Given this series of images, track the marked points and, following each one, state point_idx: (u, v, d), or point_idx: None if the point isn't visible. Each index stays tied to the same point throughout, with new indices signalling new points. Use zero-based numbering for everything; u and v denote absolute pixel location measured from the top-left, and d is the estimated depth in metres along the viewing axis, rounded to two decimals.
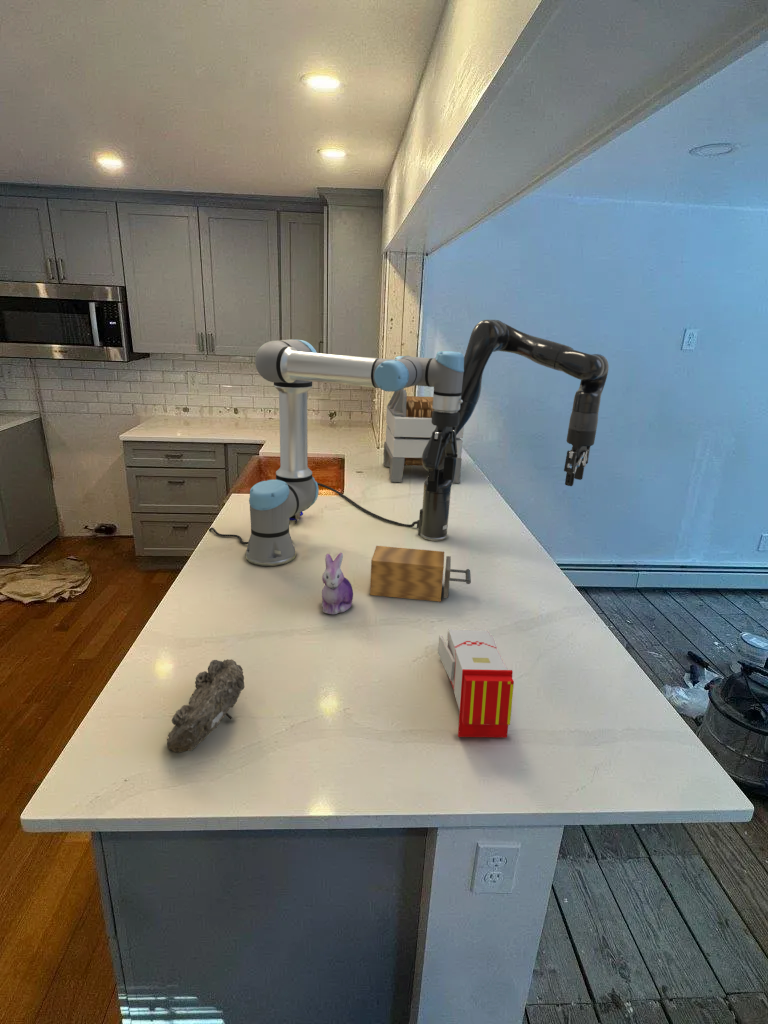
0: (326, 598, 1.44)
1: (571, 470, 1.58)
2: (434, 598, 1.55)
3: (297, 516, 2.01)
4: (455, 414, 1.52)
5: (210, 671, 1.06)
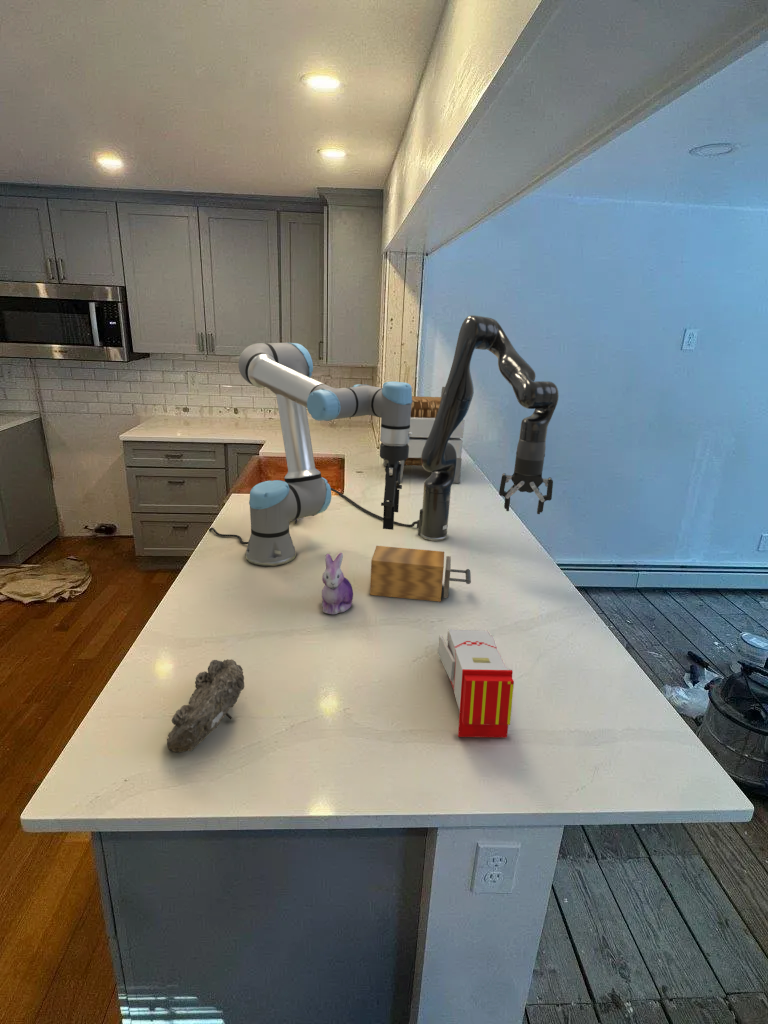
0: (326, 598, 1.44)
1: (499, 492, 1.59)
2: (434, 598, 1.55)
3: None
4: (406, 447, 1.45)
5: (210, 671, 1.06)
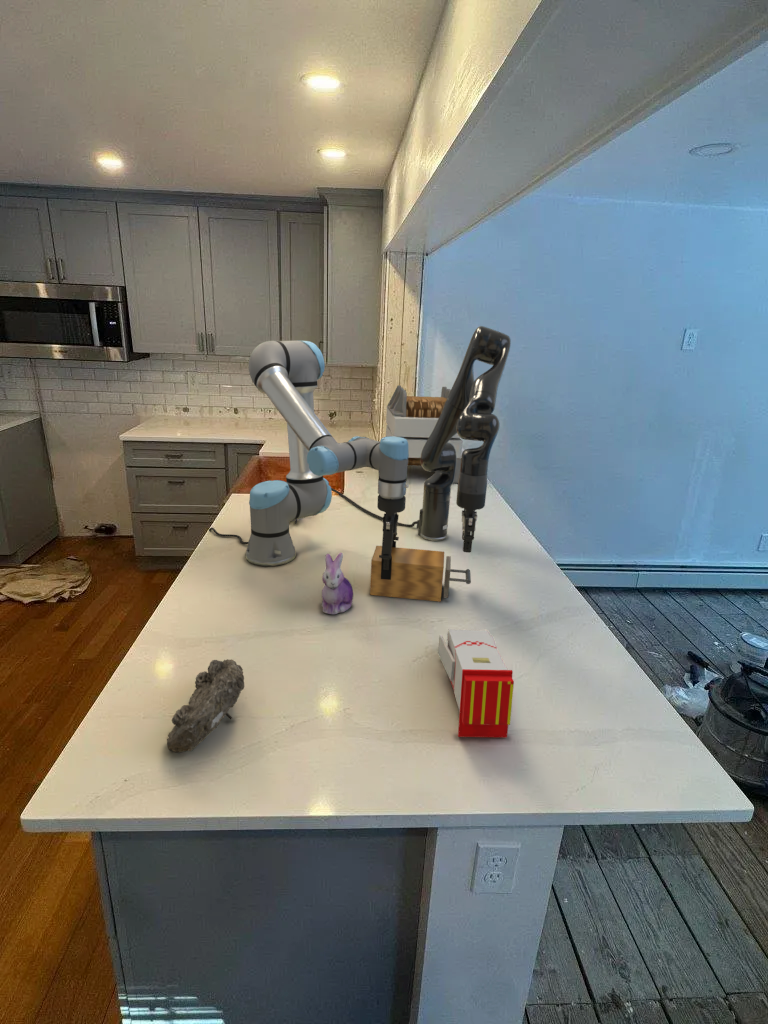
0: (326, 598, 1.44)
1: None
2: (434, 598, 1.55)
3: None
4: (403, 499, 1.50)
5: (210, 671, 1.06)
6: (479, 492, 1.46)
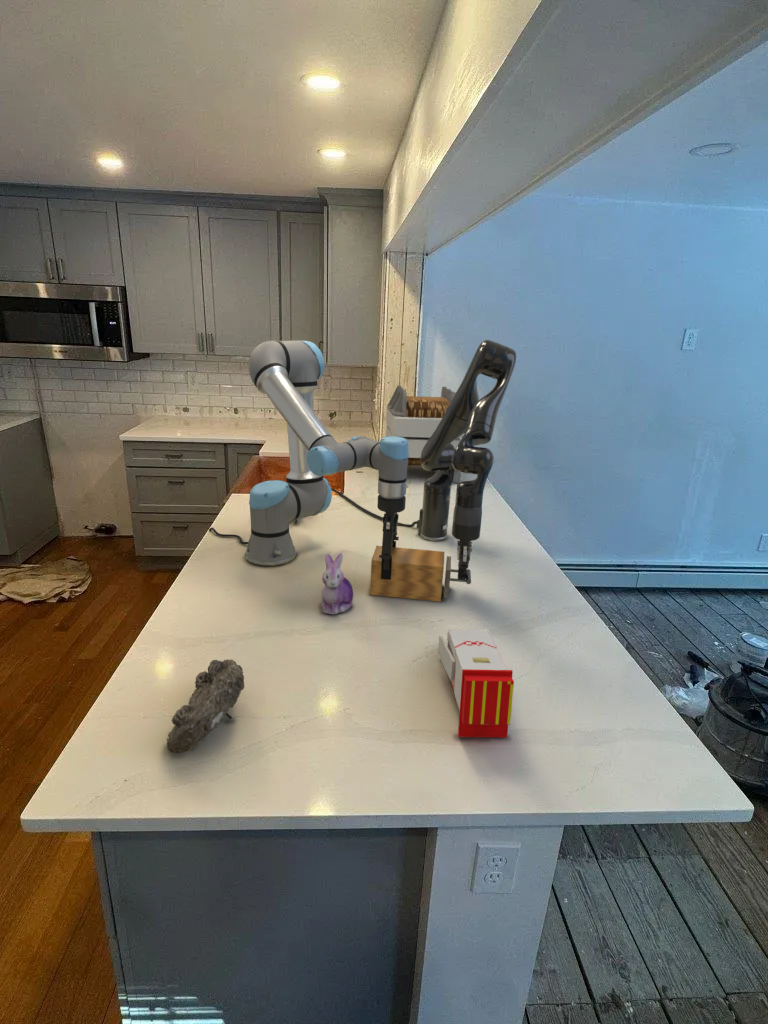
0: (326, 598, 1.44)
1: None
2: (434, 598, 1.55)
3: None
4: (403, 499, 1.50)
5: (210, 671, 1.06)
6: (474, 524, 1.48)
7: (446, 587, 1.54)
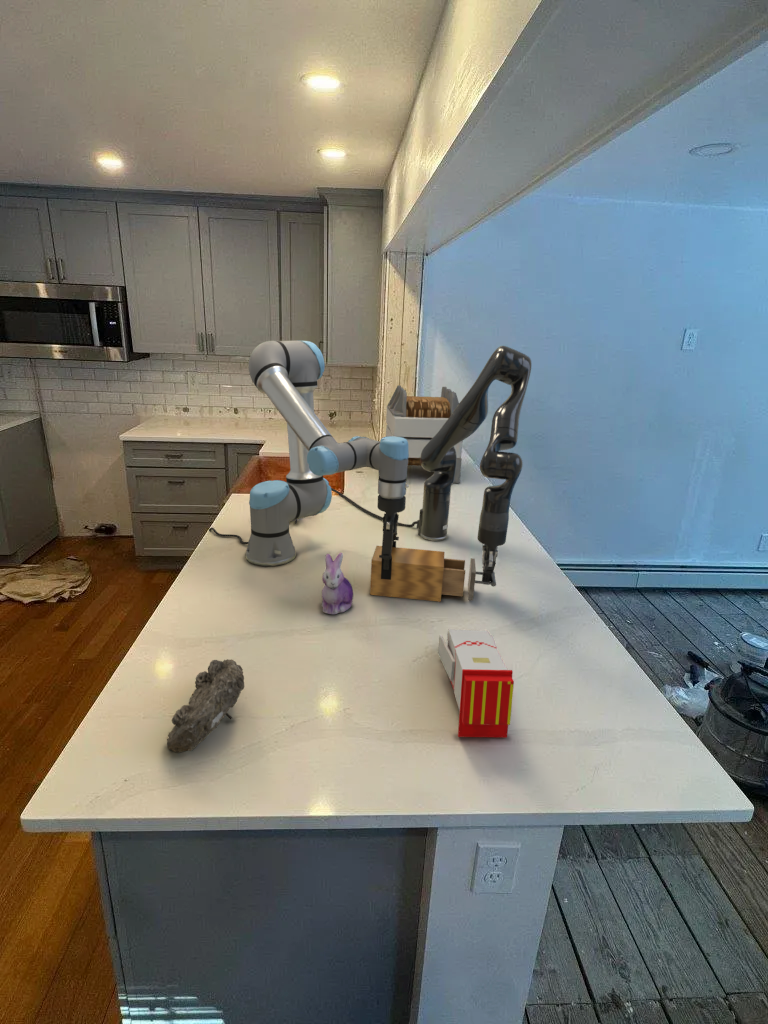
0: (326, 598, 1.44)
1: None
2: (434, 598, 1.55)
3: None
4: (403, 499, 1.50)
5: (210, 671, 1.06)
6: (501, 529, 1.48)
7: (471, 589, 1.53)
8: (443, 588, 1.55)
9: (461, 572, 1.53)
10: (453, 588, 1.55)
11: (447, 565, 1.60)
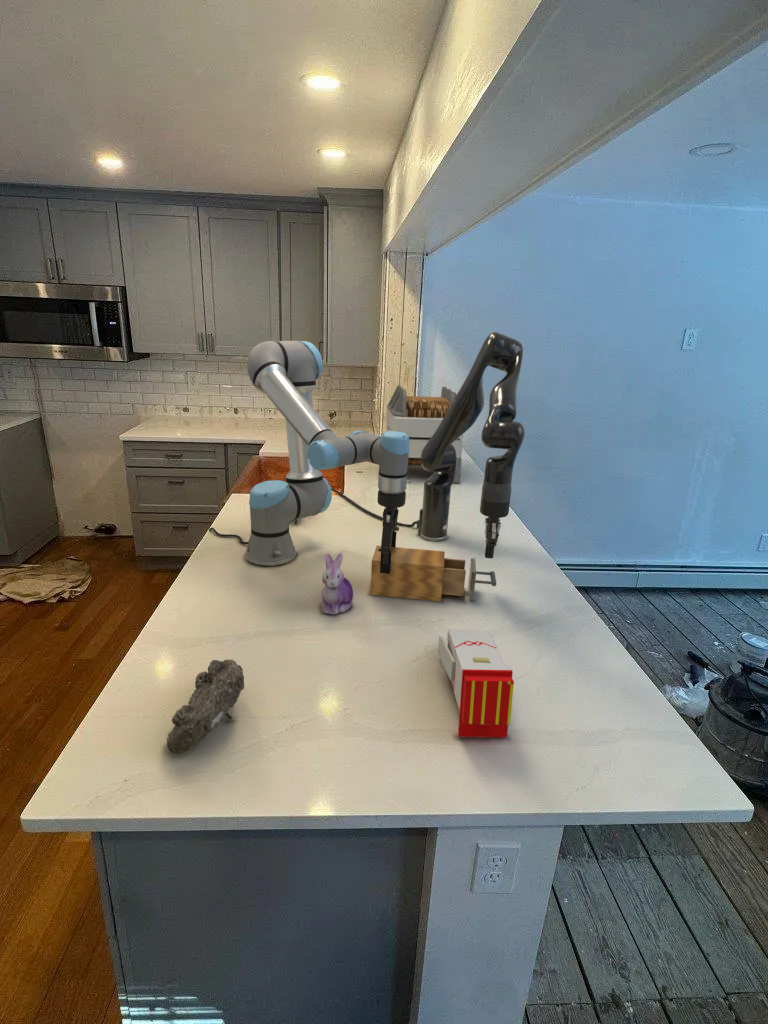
0: (326, 598, 1.44)
1: None
2: (434, 598, 1.55)
3: None
4: (403, 494, 1.50)
5: (210, 671, 1.06)
6: (503, 500, 1.45)
7: (471, 589, 1.53)
8: (443, 588, 1.55)
9: (462, 571, 1.53)
10: (453, 588, 1.55)
11: (448, 565, 1.60)
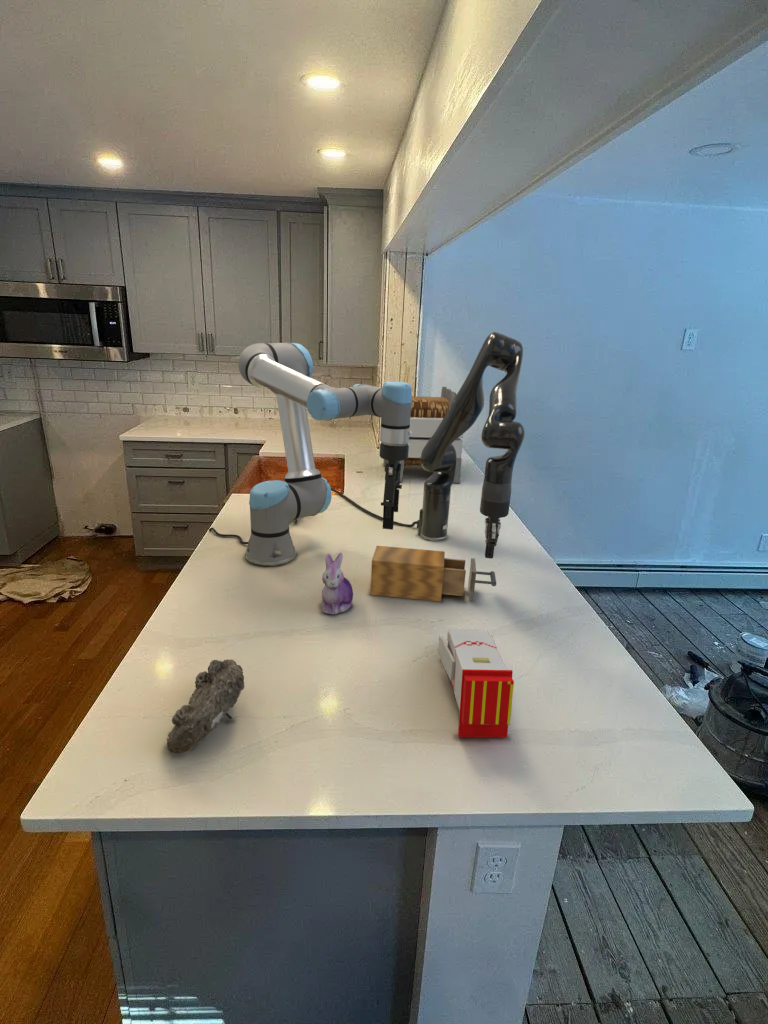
0: (326, 598, 1.44)
1: None
2: (434, 598, 1.55)
3: None
4: (406, 447, 1.45)
5: (210, 671, 1.06)
6: (503, 500, 1.45)
7: (471, 589, 1.53)
8: (443, 588, 1.55)
9: (462, 571, 1.53)
10: (453, 588, 1.55)
11: (448, 565, 1.60)
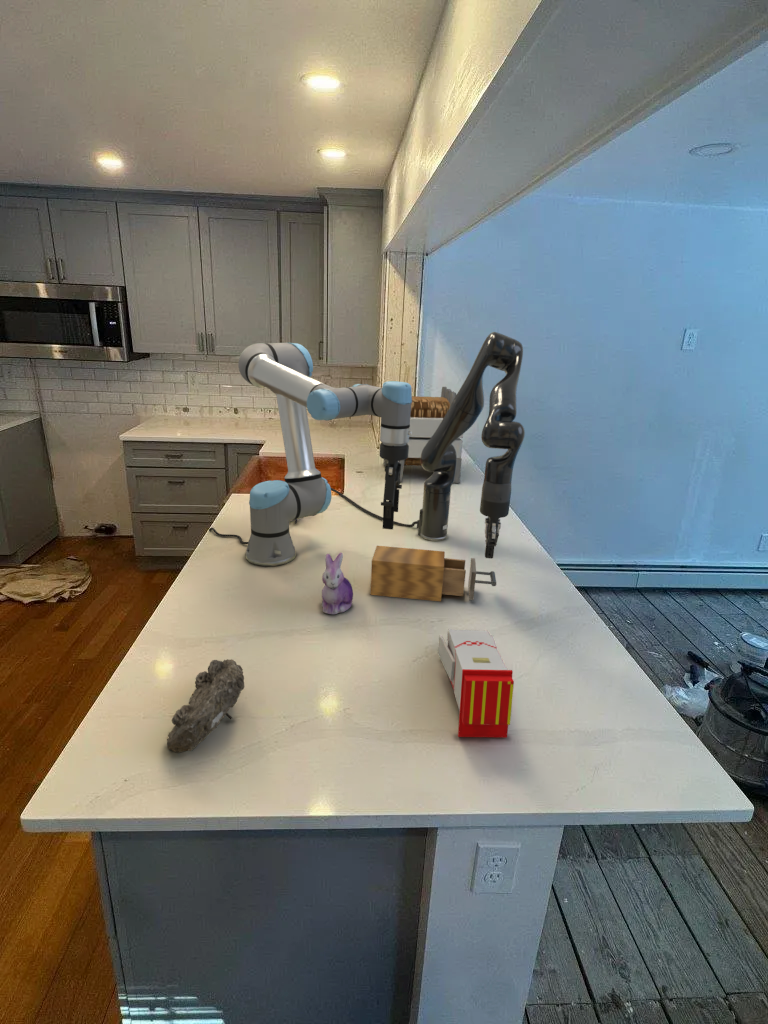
0: (326, 598, 1.44)
1: None
2: (434, 598, 1.55)
3: None
4: (406, 447, 1.45)
5: (210, 671, 1.06)
6: (503, 500, 1.45)
7: (471, 589, 1.53)
8: (443, 588, 1.55)
9: (462, 571, 1.53)
10: (453, 588, 1.55)
11: (448, 565, 1.60)
